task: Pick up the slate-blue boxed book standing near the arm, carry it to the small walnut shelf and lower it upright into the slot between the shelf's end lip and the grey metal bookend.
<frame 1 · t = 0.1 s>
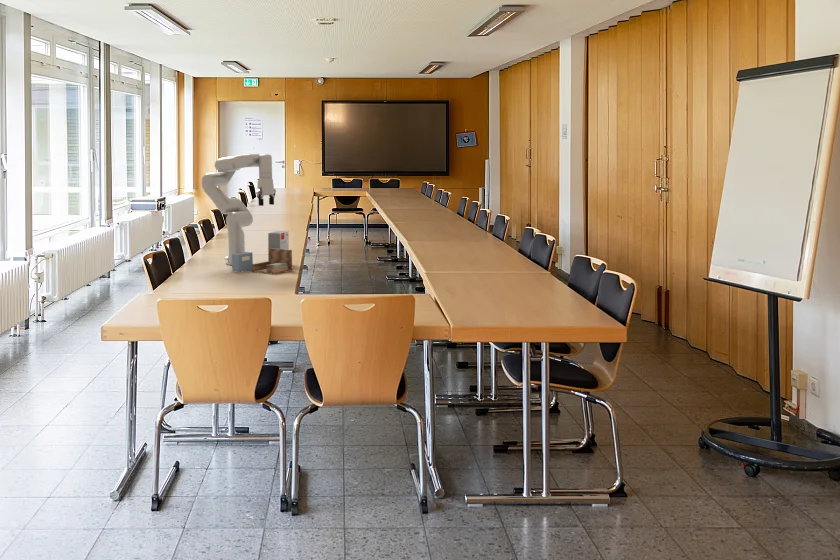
hand: (266, 205, 513), 37 cm above the table, tool pointing down, fingers open, 9 cm apart
shelf: (272, 271, 503), on the table
book: (242, 270, 506), on the table
hard drive box: (278, 265, 528), on the table
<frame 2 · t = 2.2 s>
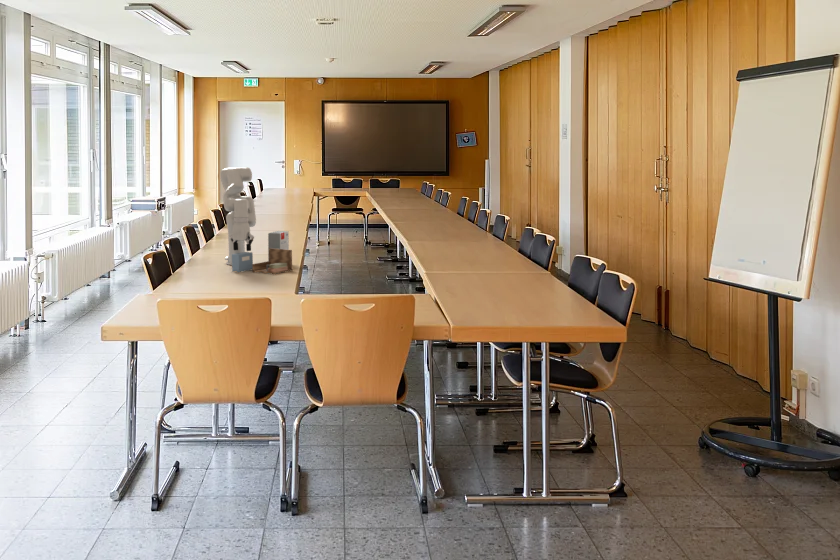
hand: (242, 250, 503), 12 cm above the table, tool pointing down, fingers open, 9 cm apart
nothing on the table moved.
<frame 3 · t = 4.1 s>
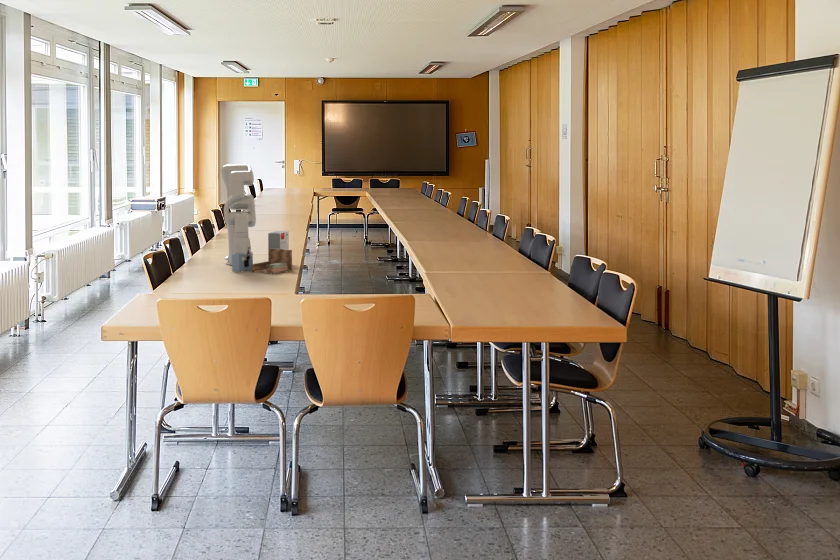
hand: (242, 266, 505), 2 cm above the table, tool pointing down, fingers closed on book, 5 cm apart
book: (242, 270, 506), on the table, touching gripper
everything else where it was.
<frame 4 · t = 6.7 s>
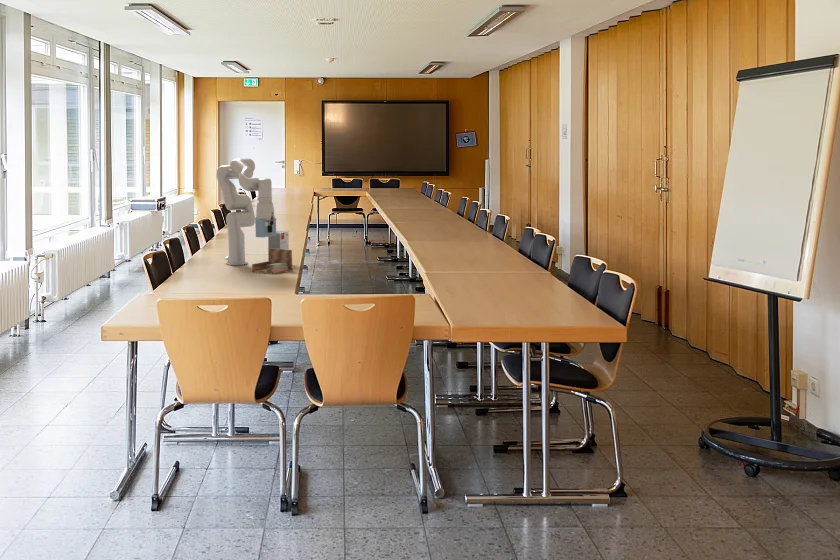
hand: (266, 231, 500), 23 cm above the table, tool pointing down, fingers closed on book, 5 cm apart
book: (266, 236, 500), point 20 cm above the table, touching gripper
everything else where it was.
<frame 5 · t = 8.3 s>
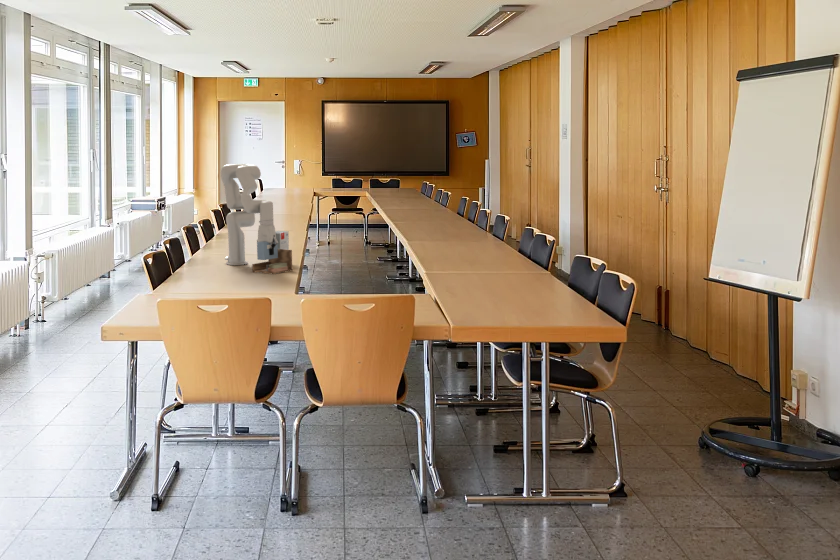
hand: (267, 254, 502), 10 cm above the table, tool pointing down, fingers closed on book, 5 cm apart
book: (267, 258, 502), point 7 cm above the table, touching gripper
everything else where it was.
when the fingers open (5 cm above the table, at t = 9.7 s): book drops 2 cm, resting on shelf.
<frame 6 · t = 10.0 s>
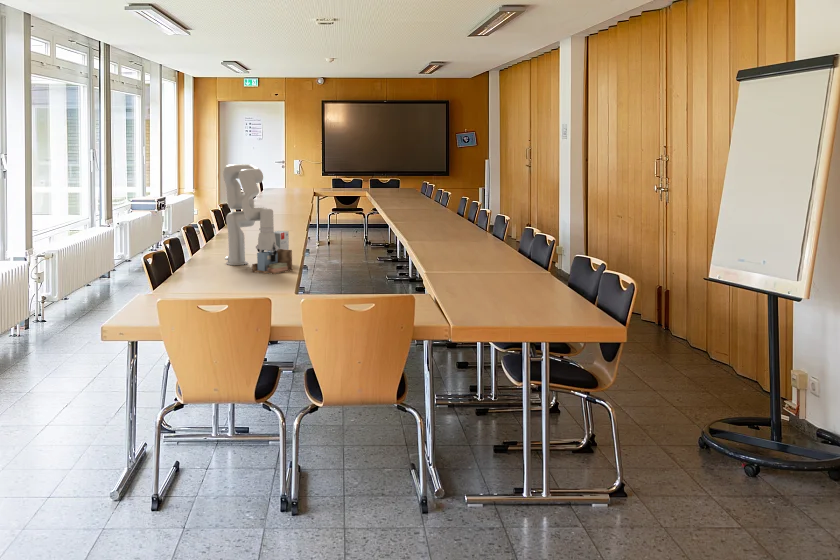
hand: (267, 260, 503), 6 cm above the table, tool pointing down, fingers open, 7 cm apart
book: (267, 269, 503), point 1 cm above the table, touching shelf
everything else where it was.
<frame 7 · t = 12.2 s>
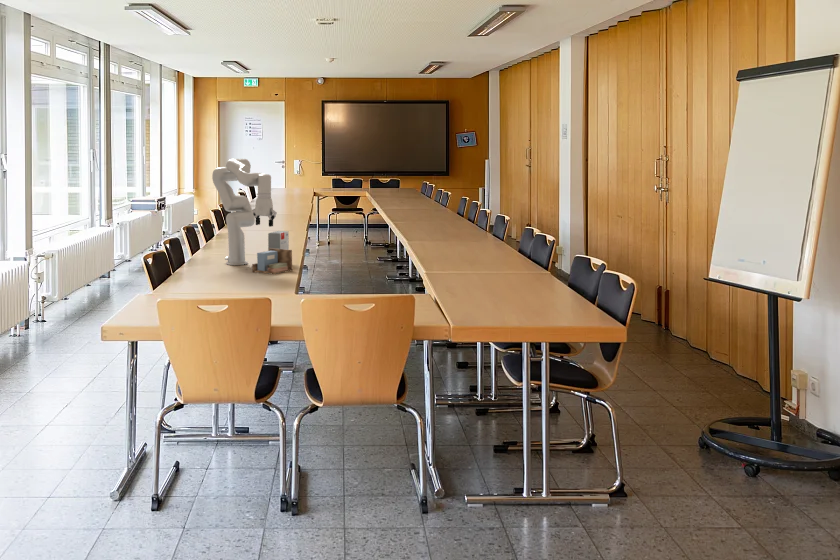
hand: (264, 225, 505), 26 cm above the table, tool pointing down, fingers open, 9 cm apart
nothing on the table moved.
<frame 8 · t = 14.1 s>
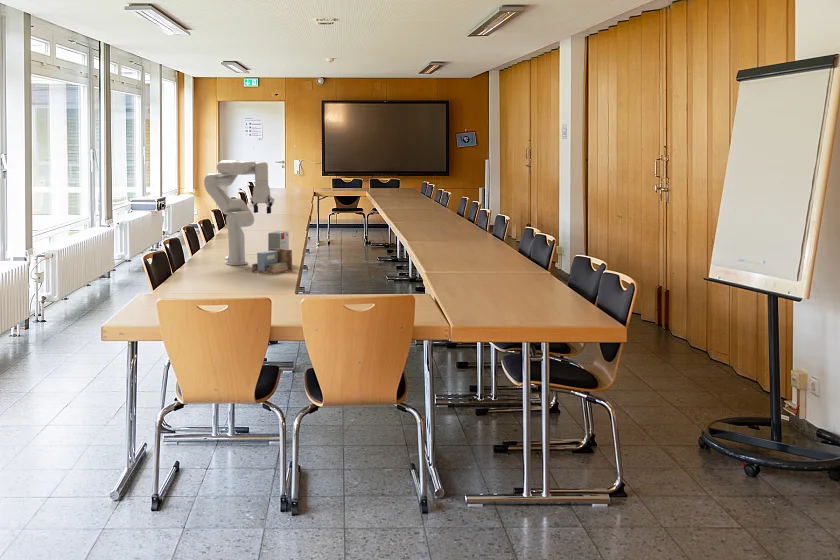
hand: (262, 213, 511), 32 cm above the table, tool pointing down, fingers open, 9 cm apart
nothing on the table moved.
at the end: book 0.2 cm from the target spot on the shelf, point 1.0 cm above the shelf's base; book tilted 0°; the gripper is holding nothing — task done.
